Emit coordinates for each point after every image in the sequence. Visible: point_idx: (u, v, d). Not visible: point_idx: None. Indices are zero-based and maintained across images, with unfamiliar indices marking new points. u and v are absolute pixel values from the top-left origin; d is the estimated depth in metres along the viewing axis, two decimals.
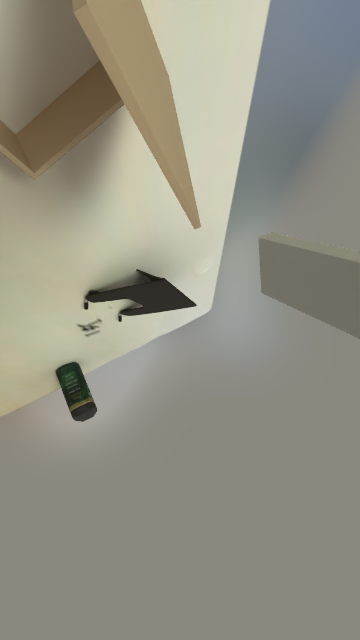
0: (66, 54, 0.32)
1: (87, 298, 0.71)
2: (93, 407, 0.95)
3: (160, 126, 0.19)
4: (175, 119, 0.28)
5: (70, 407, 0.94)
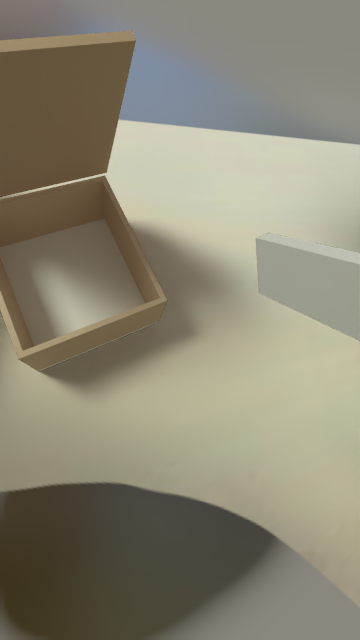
0: (105, 260, 0.41)
1: None
2: None
3: None
4: None
5: None
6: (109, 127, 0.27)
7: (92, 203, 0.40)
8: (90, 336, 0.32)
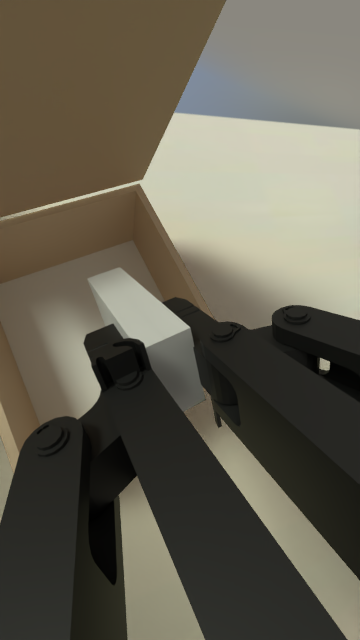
0: None
1: None
2: None
3: None
4: None
5: None
6: (167, 104, 0.16)
7: (119, 222, 0.28)
8: None
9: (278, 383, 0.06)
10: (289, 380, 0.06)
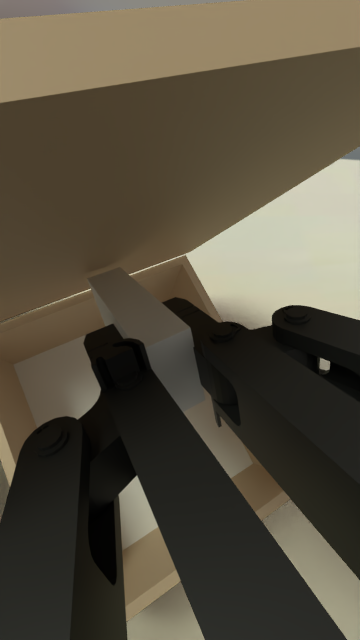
0: None
1: None
2: None
3: None
4: None
5: None
6: (251, 210, 0.13)
7: (159, 290, 0.26)
8: None
9: (278, 383, 0.06)
10: (289, 380, 0.06)
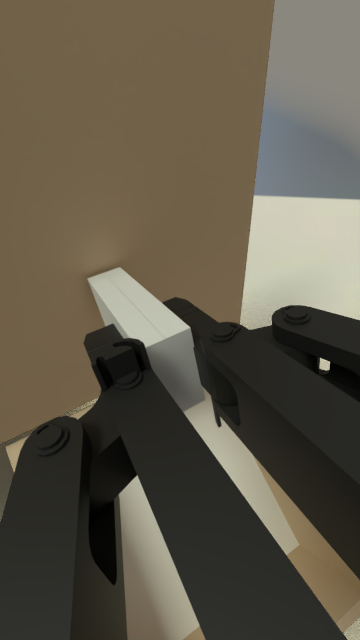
0: (215, 442, 0.26)
1: None
2: None
3: None
4: None
5: None
6: (242, 202, 0.15)
7: None
8: None
9: (278, 383, 0.06)
10: (289, 380, 0.06)
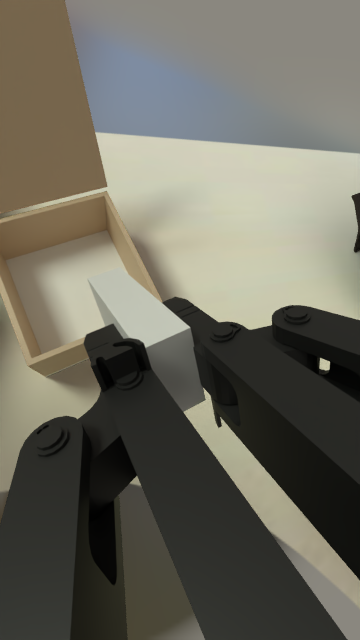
0: (107, 270, 0.44)
1: None
2: None
3: None
4: None
5: None
6: (80, 98, 0.32)
7: (95, 216, 0.42)
8: None
9: (278, 383, 0.06)
10: (289, 380, 0.06)
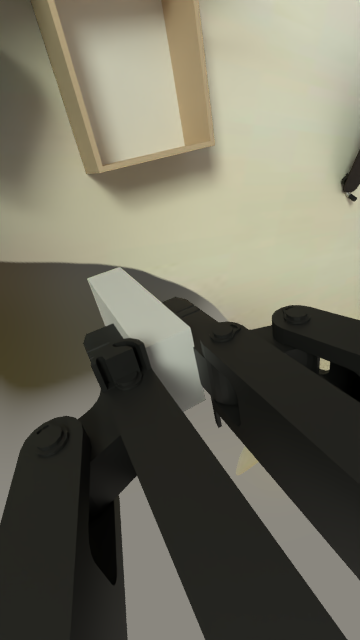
0: (153, 60, 0.39)
1: (346, 189, 0.62)
2: None
3: None
4: None
5: None
6: None
7: None
8: None
9: (278, 383, 0.06)
10: (289, 380, 0.06)
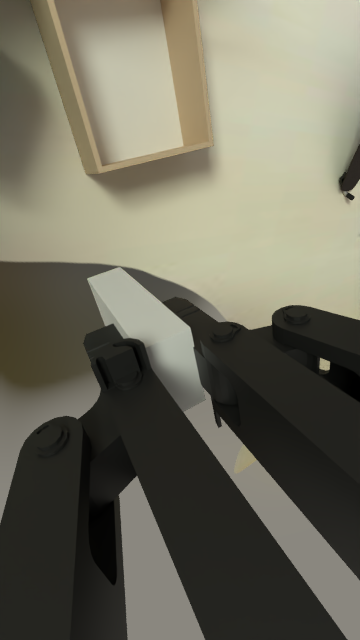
0: (152, 60, 0.39)
1: (343, 188, 0.63)
2: None
3: None
4: None
5: None
6: None
7: None
8: None
9: (278, 383, 0.06)
10: (289, 380, 0.06)
